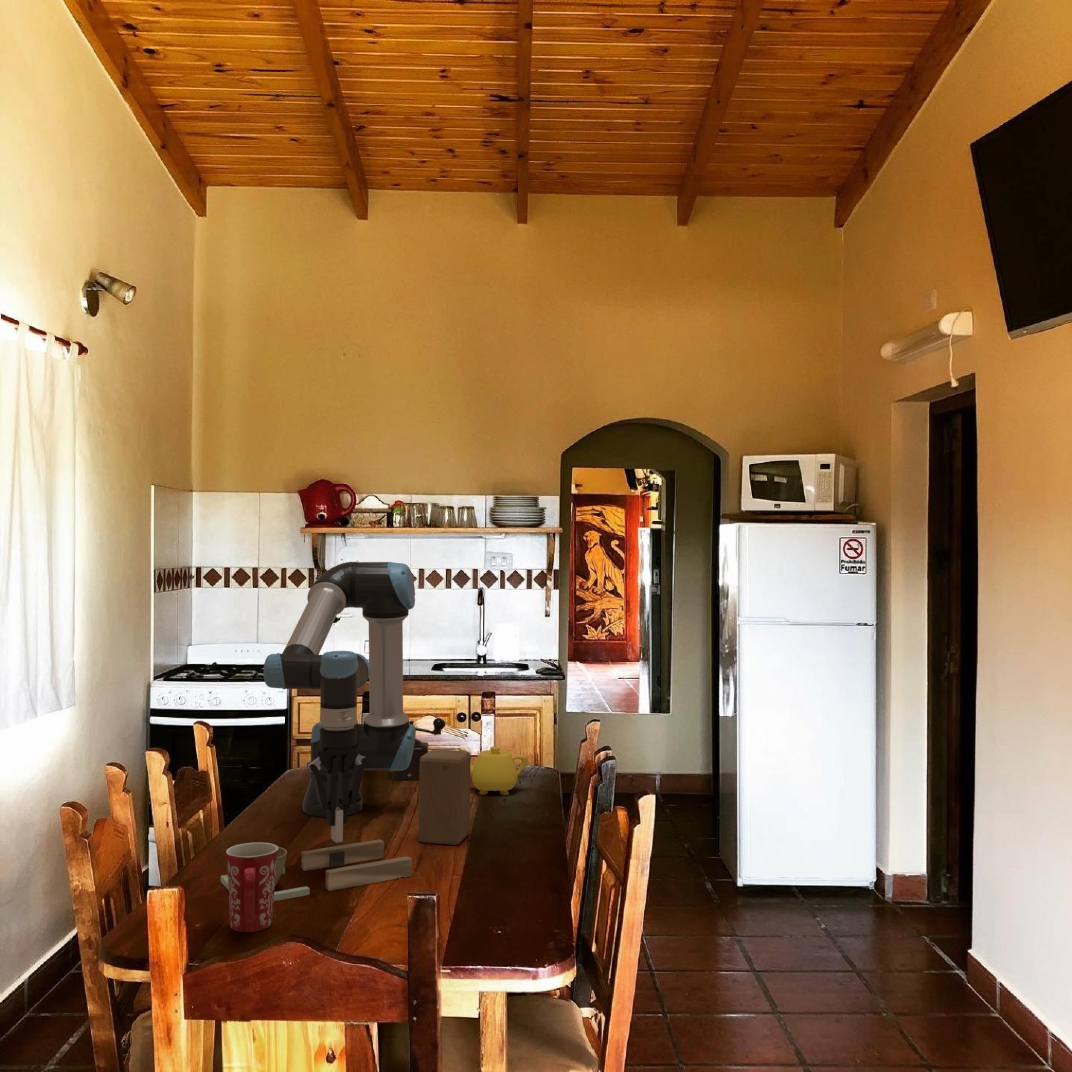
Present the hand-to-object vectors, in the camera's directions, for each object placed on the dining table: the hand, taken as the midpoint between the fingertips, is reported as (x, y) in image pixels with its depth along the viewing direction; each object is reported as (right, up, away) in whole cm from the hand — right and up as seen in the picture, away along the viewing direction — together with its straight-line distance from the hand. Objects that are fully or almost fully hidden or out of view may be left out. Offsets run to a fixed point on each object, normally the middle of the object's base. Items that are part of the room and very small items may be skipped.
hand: (336, 840), depth 203 cm
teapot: (+29, -9, +73) cm, 79 cm away
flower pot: (-13, -7, -9) cm, 18 cm away
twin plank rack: (+4, -7, +2) cm, 8 cm away
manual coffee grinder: (+6, -9, +89) cm, 90 cm away
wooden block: (+20, -8, +26) cm, 34 cm away
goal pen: (-12, -7, -9) cm, 17 cm away
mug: (-9, -7, -29) cm, 32 cm away
